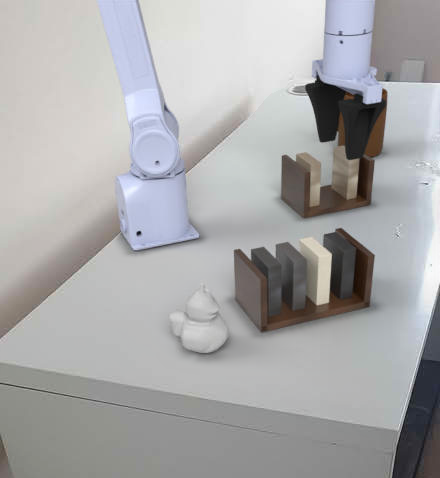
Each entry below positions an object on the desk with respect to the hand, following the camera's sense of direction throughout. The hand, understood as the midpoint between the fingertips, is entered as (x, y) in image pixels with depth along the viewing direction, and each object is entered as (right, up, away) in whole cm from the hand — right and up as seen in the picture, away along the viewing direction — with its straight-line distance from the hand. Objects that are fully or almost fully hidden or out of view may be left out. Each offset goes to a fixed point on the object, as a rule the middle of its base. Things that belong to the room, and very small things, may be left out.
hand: (340, 149), depth 94 cm
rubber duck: (-18, -29, -16) cm, 38 cm away
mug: (+6, +12, +28) cm, 31 cm away
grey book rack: (-6, -23, -10) cm, 26 cm away
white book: (-5, -22, -10) cm, 24 cm away
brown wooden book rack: (0, -3, +12) cm, 12 cm away
